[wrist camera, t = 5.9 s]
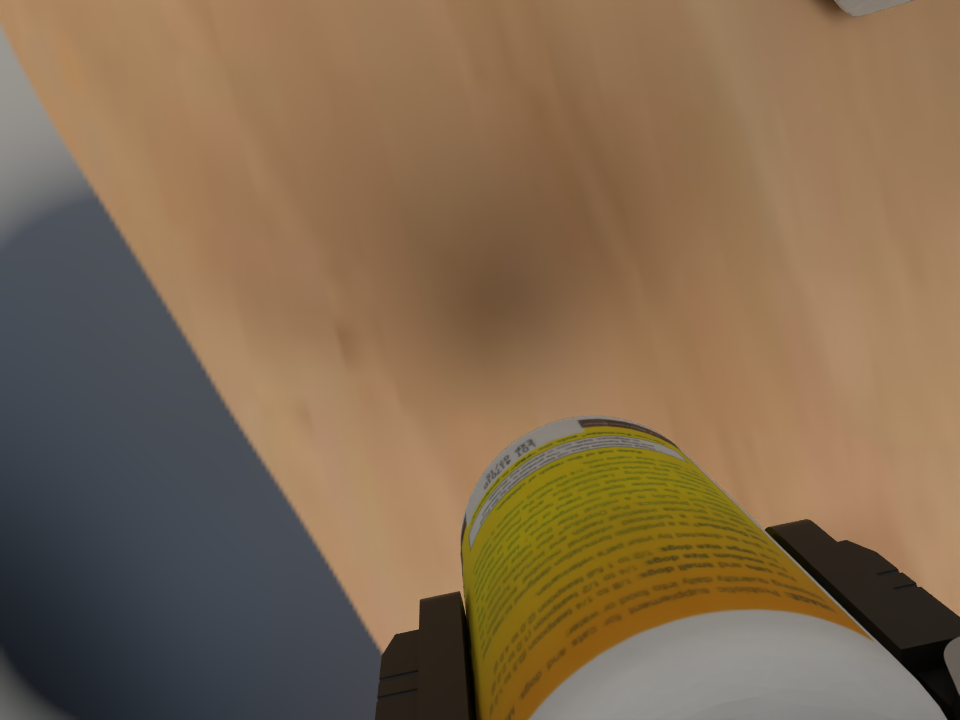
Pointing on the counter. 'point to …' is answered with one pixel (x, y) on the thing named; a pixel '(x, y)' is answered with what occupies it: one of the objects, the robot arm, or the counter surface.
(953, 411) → the counter surface
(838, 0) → the stereo radio cassette player
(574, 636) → the supplement bottle
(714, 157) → the counter surface
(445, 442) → the counter surface
